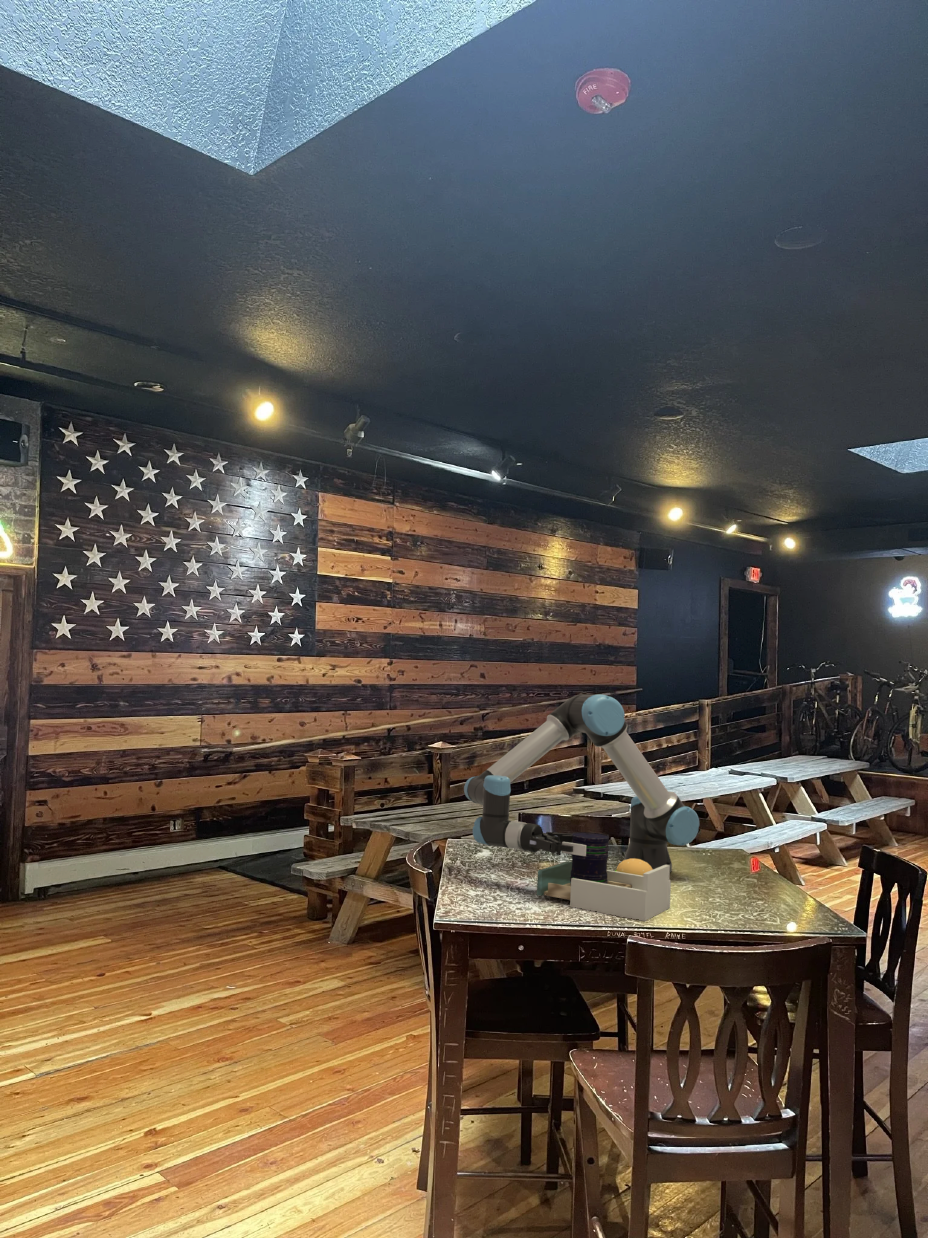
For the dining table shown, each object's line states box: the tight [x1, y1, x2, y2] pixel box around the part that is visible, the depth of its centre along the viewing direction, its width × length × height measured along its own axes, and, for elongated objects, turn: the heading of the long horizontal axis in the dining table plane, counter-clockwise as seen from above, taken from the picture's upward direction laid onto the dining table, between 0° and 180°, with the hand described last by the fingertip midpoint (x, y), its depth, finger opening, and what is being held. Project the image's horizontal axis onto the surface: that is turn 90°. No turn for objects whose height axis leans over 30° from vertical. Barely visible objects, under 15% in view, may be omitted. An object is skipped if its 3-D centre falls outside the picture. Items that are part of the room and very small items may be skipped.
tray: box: [536, 861, 632, 901], centre depth 230 cm, size 20×18×6 cm
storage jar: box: [570, 831, 610, 886], centre depth 230 cm, size 10×10×15 cm
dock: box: [569, 865, 672, 922], centre depth 225 cm, size 20×18×11 cm
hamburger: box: [614, 858, 653, 876], centre depth 246 cm, size 12×12×9 cm
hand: (596, 847), depth 229 cm, fingers open, 13 cm apart
